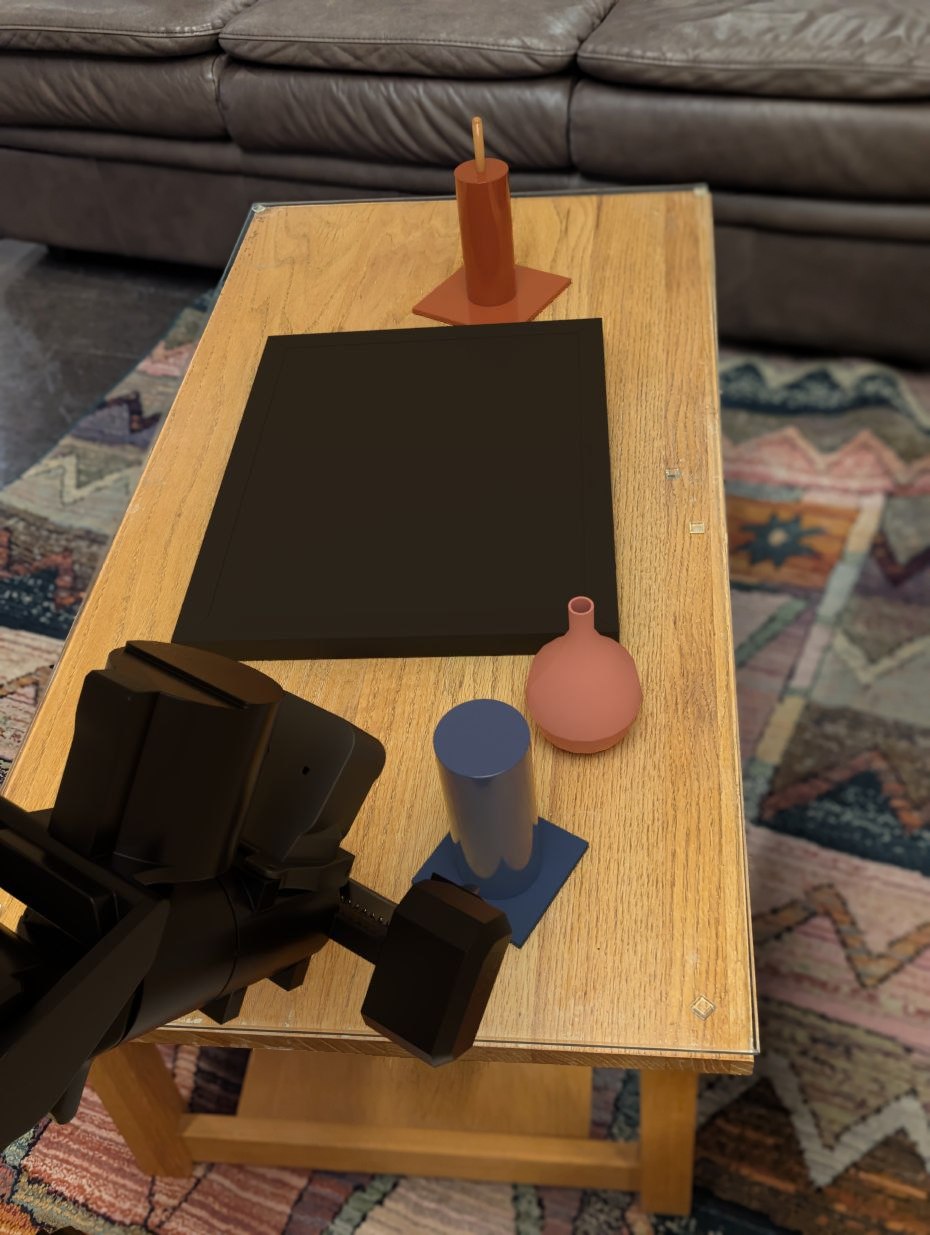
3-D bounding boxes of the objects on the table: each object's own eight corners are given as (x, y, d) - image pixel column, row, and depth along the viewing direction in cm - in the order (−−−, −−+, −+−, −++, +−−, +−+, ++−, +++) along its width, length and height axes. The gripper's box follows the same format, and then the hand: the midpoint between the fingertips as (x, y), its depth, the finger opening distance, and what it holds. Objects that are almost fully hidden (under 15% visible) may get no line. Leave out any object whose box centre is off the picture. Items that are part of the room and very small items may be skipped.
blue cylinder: (479, 914, 64) (457, 792, 55) (444, 846, 68) (417, 721, 58) (556, 877, 65) (547, 752, 56) (518, 812, 69) (503, 684, 59)
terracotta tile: (509, 341, 106) (509, 336, 106) (412, 313, 112) (411, 308, 111) (571, 283, 113) (571, 278, 112) (476, 258, 118) (476, 253, 117)
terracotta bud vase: (662, 745, 72) (669, 624, 63) (560, 789, 70) (553, 672, 62) (605, 667, 77) (605, 545, 68) (509, 707, 75) (496, 587, 67)
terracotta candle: (499, 311, 109) (484, 133, 96) (457, 299, 111) (437, 124, 98) (526, 286, 112) (515, 110, 99) (484, 275, 114) (469, 101, 101)
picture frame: (179, 662, 81) (619, 653, 78) (170, 641, 80) (619, 631, 76) (273, 356, 109) (602, 338, 105) (268, 335, 107) (602, 317, 103)
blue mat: (520, 949, 63) (520, 945, 63) (411, 885, 67) (410, 880, 66) (589, 847, 67) (589, 841, 67) (483, 791, 71) (482, 786, 70)
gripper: (461, 838, 34) (620, 778, 48) (58, 631, 42) (295, 632, 56) (355, 1147, 35) (539, 1002, 49) (-14, 891, 43) (235, 829, 57)
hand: (394, 852), depth 53 cm, fingers open, 9 cm apart
